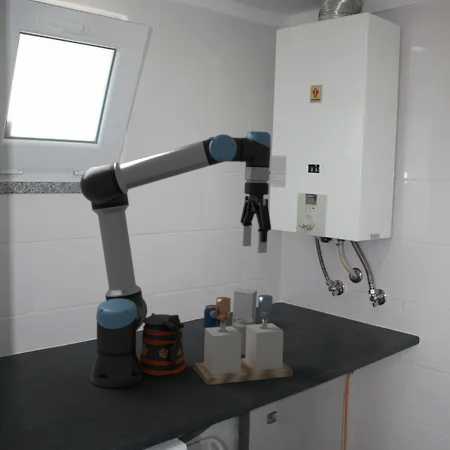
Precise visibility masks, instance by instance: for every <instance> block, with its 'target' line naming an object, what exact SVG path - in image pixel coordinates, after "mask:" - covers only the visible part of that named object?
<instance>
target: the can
mask: <svg viewBox="0 0 450 450" xmlns="http://www.w3.org/2000/svg"><path fill="white" fill-rule="evenodd" d="M255 324H256V323H255ZM255 324H254V322H253V319H250V318H238V319H236V322H235V323H234V328H235V329H236V330H237V331H238V332H240V333H241V357H246V325H255Z"/></svg>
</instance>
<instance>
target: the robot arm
mask: <svg viewBox="0 0 450 450" xmlns="http://www.w3.org/2000/svg"><path fill="white" fill-rule="evenodd" d="M271 139H272V137H271V134H270V132H267V131H259V130H258V131H247V133H246V136H245V137H234V136H230V135H228V134H218V135H215V136H210V137H209V138H208V139H205V140H204V139H203V140H201V141H197V142H193V143H190V144H187V145H184V146H181V147H177V148H173V149H169V150H166V151H162V152H160V153H156V154H152V155H150V156H144V157H141V158H139V159H135V160H131V161H128V162H125V163H122V164H121V163H119V162H117V161H116V162H112V163H108V164H104V165H94V166H91V167H89V168H88V169H86V170H85V171H84V172H83V174H82V175H81V178H80V183H79V186H80V187H79V188H80V190H81V194H82V195H83V197H84V198H85V199H86V200H87V201H89V202H90V203H91V205H90V206H91V211H92V212H94V213H95V214H96V215H97V217H98V224H99V231H100V236H101V237H100V238H101V244H102V249H103V250H102V251H103V257H104V263H105V264H104V265H105V270H106V278H107V284H108V290H107V291H106V292H105V295H104V296H105V300H104V301H102V302H101V303H100V304H99V305H98V306H97V309H96V315H95V318H96V356H95V360H94V362H93V366H92V368H91V372H90V381H91V383H92V384H93V385H95V386H98V387H102V388H108V389H109V388H111V389H118V388H119V389H120V388H126V387H130V386H134V385H136V384H138V383H140V381H141V380H142V378H143V377H142V376H143V374H142V371H141V367H140V360H139V359H138V355H137V332H138V330H139V329H140V328H141V327H142V326H143V324H145V323H144V322H143V320H144V319H145V318H147V315H148V305H147V302H146V301H145V299H144V298H143V292H142V287H140V286H139V285H137V283H136V278H135V268H134V263H133V262H134V261H133V255H132V250H131V249H132V248H131V243H130V235H129V231H128V230H129V229H128V223H127V222H128V221H127V217H126V210H127V208H128V207H129V206H130V204H129V196H128V192H129V190H130V189H134V188H138V187H141V186H145V185H148V184H149V185H150V184H152V183H155V182H159V181H161V180H166V179H168V178H172V177H175V176H180V175H183V174H186V173H189V172H193V171H197V170H199V169H203V168H207V167H210V166H214V165H217V164H221V163H225V162H228V163H229V162H230V163H231V162H232V163H233V162H235V163H236V162H237V163H239V162H240V163H245V167H244V168H245V169H244V180H245V181H246V182H245V183H244V191H243V192H244V194H245V196H244V203H243V208H242V213H241V217H240V222H239V223H240V224H242V244H241V246H242V247H251V246H252V230H253V229H252V226H253V223H252V222H253V219H254V217H255V216H256V219H257V224H258V229H257V232H258V233H257V234H258V235H257V253H258V254H262V253H263V254H267V251H268V233H269V231H271V230H272V224H271V218H270V216H271V215H270V211H269V210H270V209H269V199H268V198H264V196H267V195H269V189H270V188H269V187H270V184H269V183H268V182H269V181H270V174H271V171H270V164H271V148H272V147H271V143H272V141H271Z"/></svg>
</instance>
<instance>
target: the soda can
mask: <svg viewBox="0 0 450 450" xmlns="http://www.w3.org/2000/svg"><path fill="white" fill-rule="evenodd" d="M213 327H220V319H217V318H216V304H209V305H208V304H207V305H206V306H205V308H204V311H203V336H204V337H205V328H213Z"/></svg>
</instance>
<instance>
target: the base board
mask: <svg viewBox="0 0 450 450" xmlns="http://www.w3.org/2000/svg"><path fill="white" fill-rule="evenodd" d="M193 366H194V367H193V369H194V371H195V372H196V373H197V374H198V376H199V377H200V378H201V380H202V381H203V382H204V384H205V385H206V386H210V385H211V386H212V385H222V384H229V383H238V382H239V383H240V382H249V381H259V380H267V379H269V380H270V379H278V378H279V379H280V378H287V377H293V374H294V373H293V372H294V370H293V369H292V367H290V366H289V365H287V364H286V363H284V362H283V361H282V368H277V369H267V370H257V371H256V370H254V369H253V368H252V367H251V366H250V365H249V364H248V363H247V362H246V361H245V358H241V372H236V373H226V374H216V375H212V374H211V372H210V371H209V370H208V369H207V368H206V367H205V366H204V361H202V362H194V364H193Z"/></svg>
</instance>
